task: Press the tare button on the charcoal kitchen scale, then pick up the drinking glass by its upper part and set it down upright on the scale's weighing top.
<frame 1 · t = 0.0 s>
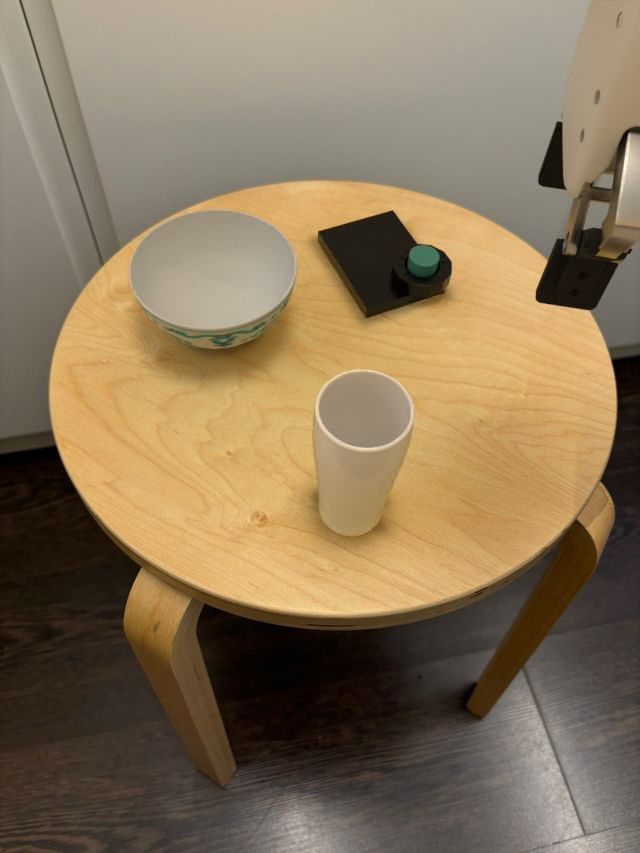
hand: (563, 240, 40), 25 cm above the table, tool pointing down, fingers open, 9 cm apart
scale: (379, 266, 74), on the table
drinking glass: (349, 510, 59), on the table
tare button: (423, 261, 70), point 3 cm above the table, slide at 0.1 cm
chinaware: (221, 323, 70), on the table
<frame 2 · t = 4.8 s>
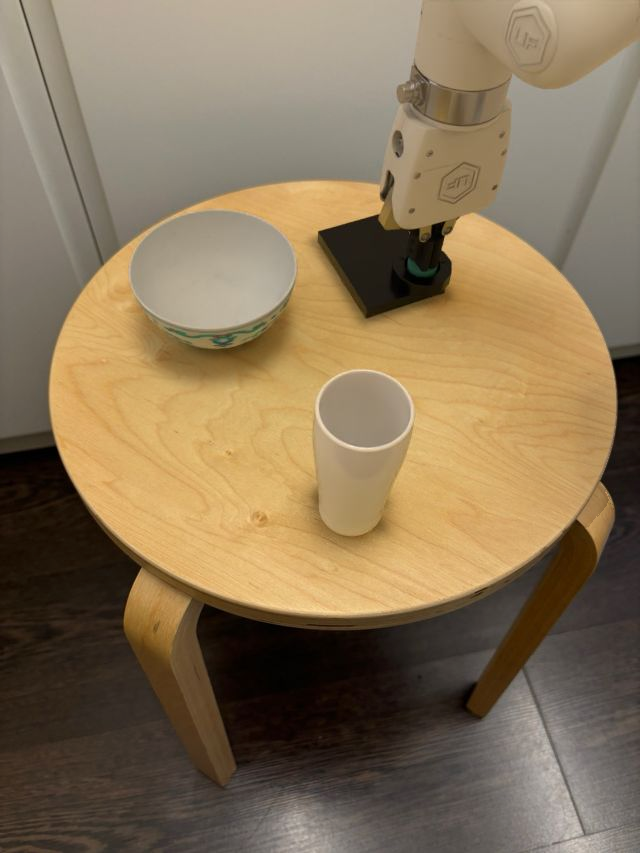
hand: (422, 260, 70), 3 cm above the table, tool pointing down, fingers closed
tare button: (422, 267, 71), point 3 cm above the table, slide at -0.7 cm, touching gripper
everything else where it was.
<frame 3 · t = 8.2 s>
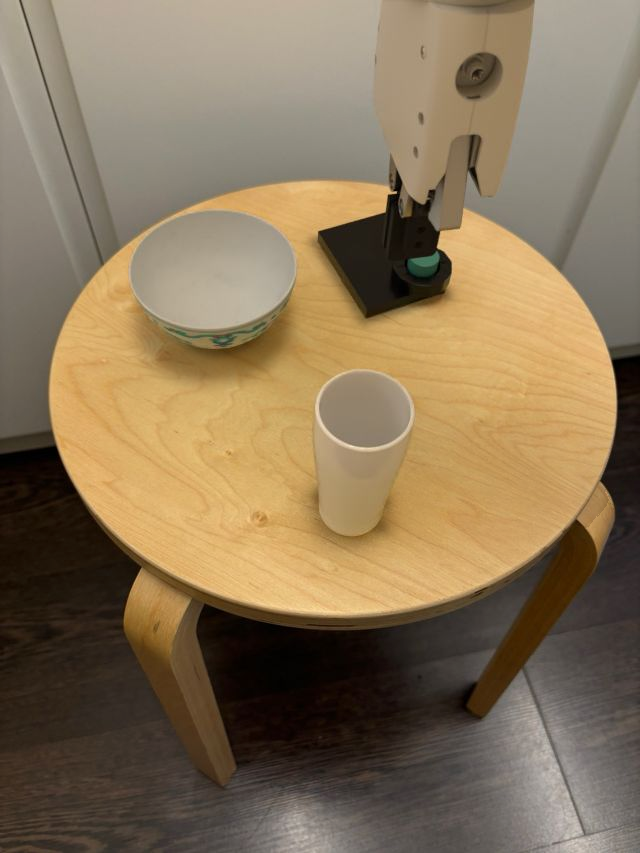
hand: (408, 249, 46), 21 cm above the table, tool pointing down, fingers closed
tare button: (423, 261, 70), point 3 cm above the table, slide at 0.1 cm
everything else where it was.
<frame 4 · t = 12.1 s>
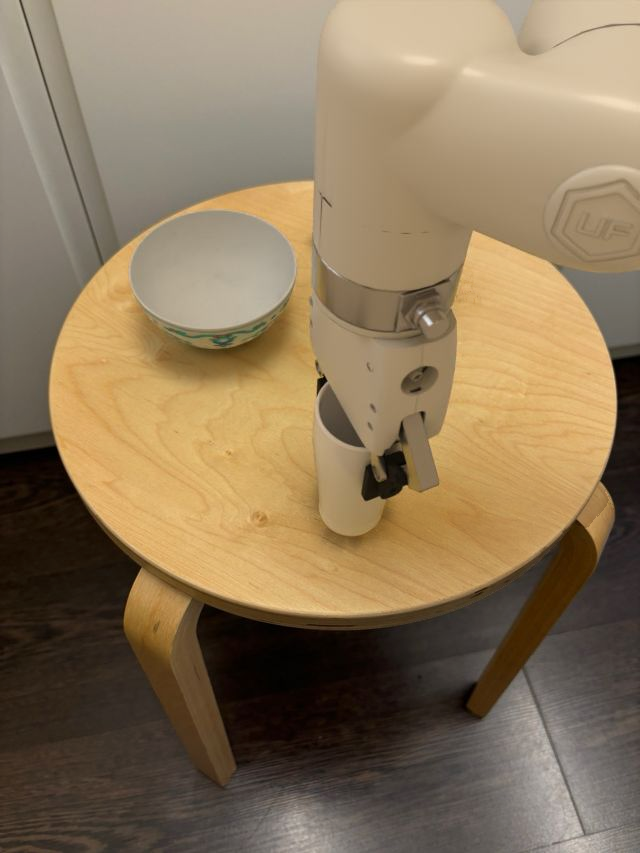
hand: (359, 446, 50), 10 cm above the table, tool pointing down, fingers closed on drinking glass, 6 cm apart
drinking glass: (349, 510, 59), on the table, touching gripper
everything else where it was.
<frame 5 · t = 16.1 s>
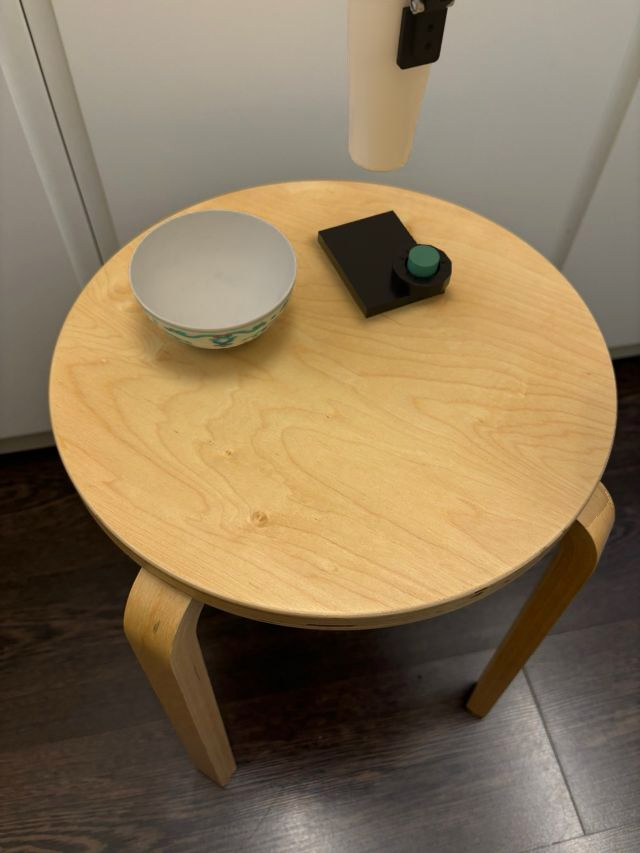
hand: (392, 35, 51), 26 cm above the table, tool pointing down, fingers closed on drinking glass, 6 cm apart
drinking glass: (378, 157, 60), point 15 cm above the table, touching gripper
everything else where it was.
when the fingers open (12 cm above the table, at t = 20.2 s): drinking glass stays where it is, resting on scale.
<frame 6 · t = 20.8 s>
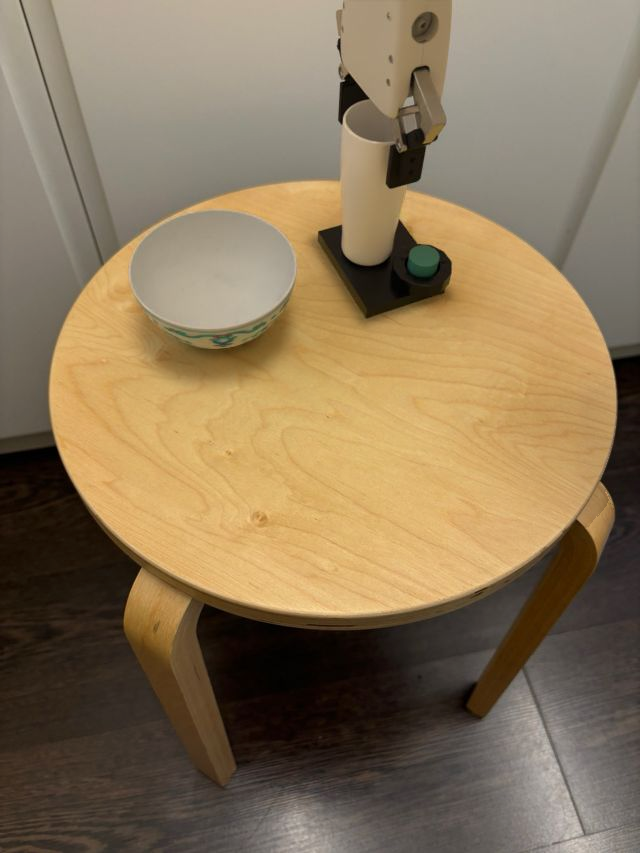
hand: (377, 150, 64), 13 cm above the table, tool pointing down, fingers open, 9 cm apart
drinking glass: (366, 251, 74), point 1 cm above the table, touching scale
everything else where it was.
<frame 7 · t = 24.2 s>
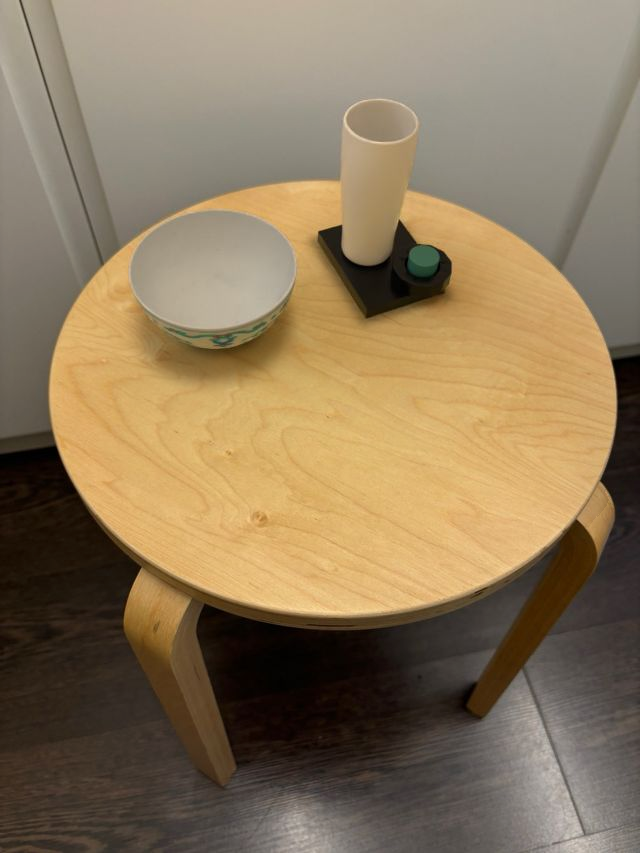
nothing on the table moved.
at the end: tare button pushed in 0.9 cm at the most during the clip, back to where it started at the end; drinking glass 0.1 cm from the target spot on the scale, point 1.2 cm above the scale's base; drinking glass tilted 0° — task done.
